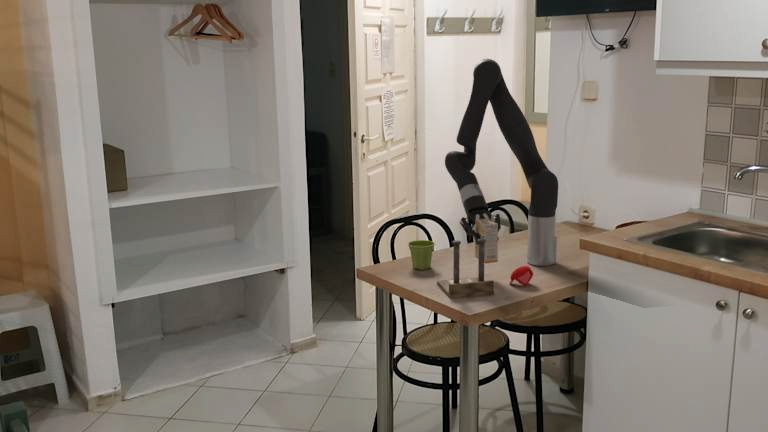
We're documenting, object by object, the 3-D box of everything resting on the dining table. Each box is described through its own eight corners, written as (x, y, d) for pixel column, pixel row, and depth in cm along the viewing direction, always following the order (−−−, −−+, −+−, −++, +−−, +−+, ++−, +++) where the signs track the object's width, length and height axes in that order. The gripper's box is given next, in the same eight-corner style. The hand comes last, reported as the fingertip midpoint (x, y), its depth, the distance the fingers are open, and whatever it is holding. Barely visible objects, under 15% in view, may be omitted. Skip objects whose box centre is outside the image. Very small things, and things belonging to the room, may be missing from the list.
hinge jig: (478, 280, 246) (478, 230, 243) (494, 294, 232) (494, 241, 228) (436, 284, 244) (436, 233, 240) (450, 298, 229) (450, 245, 226)
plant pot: (410, 272, 257) (410, 247, 256) (405, 264, 267) (405, 240, 265) (437, 270, 259) (437, 245, 257) (431, 263, 268) (431, 239, 266)
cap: (533, 271, 245) (518, 261, 245) (537, 270, 239) (521, 260, 239) (521, 292, 244) (505, 282, 244) (524, 292, 238) (507, 281, 238)
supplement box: (474, 257, 251) (473, 219, 248) (487, 255, 252) (487, 217, 249) (484, 264, 243) (484, 224, 240) (498, 262, 245) (498, 222, 242)
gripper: (456, 196, 248) (471, 240, 240) (496, 192, 252) (512, 235, 243) (450, 209, 254) (464, 252, 246) (489, 204, 258) (505, 247, 250)
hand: (488, 243), depth 245 cm, fingers closed on supplement box, 5 cm apart
